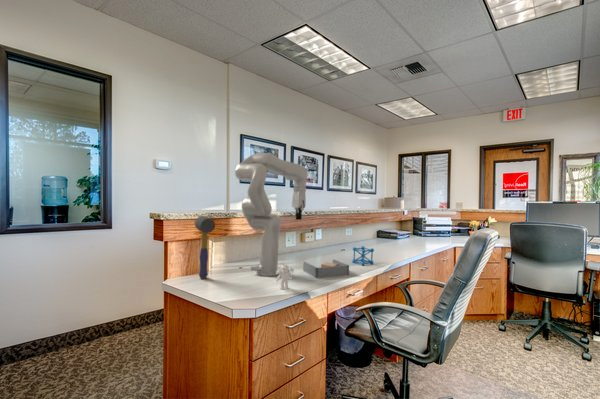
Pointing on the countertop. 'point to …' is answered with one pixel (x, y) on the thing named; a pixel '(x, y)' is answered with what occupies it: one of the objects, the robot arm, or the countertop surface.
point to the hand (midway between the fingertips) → (298, 219)
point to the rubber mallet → (204, 242)
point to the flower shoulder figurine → (284, 275)
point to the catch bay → (326, 270)
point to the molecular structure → (363, 255)
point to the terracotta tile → (328, 264)
